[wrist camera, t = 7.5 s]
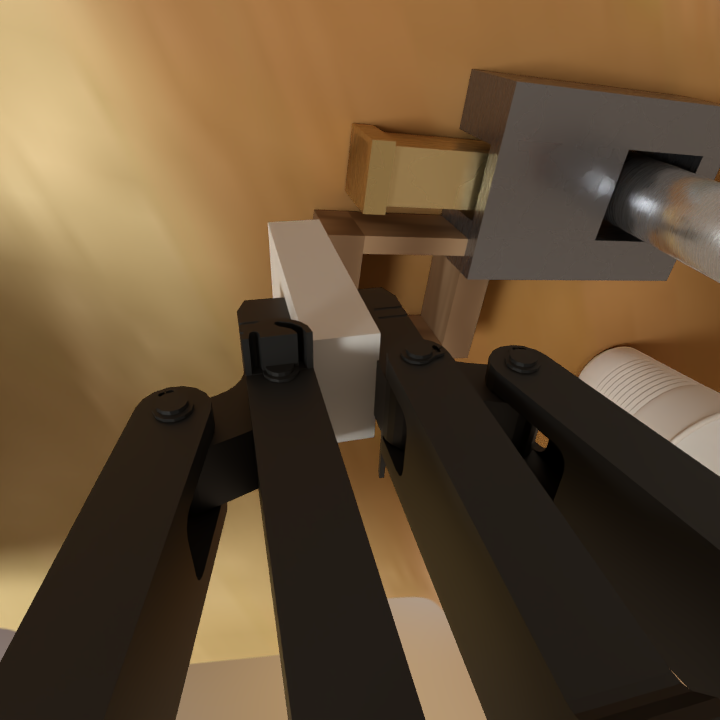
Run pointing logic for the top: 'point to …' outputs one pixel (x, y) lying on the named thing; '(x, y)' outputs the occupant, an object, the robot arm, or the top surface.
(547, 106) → the socket block
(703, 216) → the cylinder
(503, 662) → the robot arm
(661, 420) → the cup
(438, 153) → the tan square peg
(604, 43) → the top surface
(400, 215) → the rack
